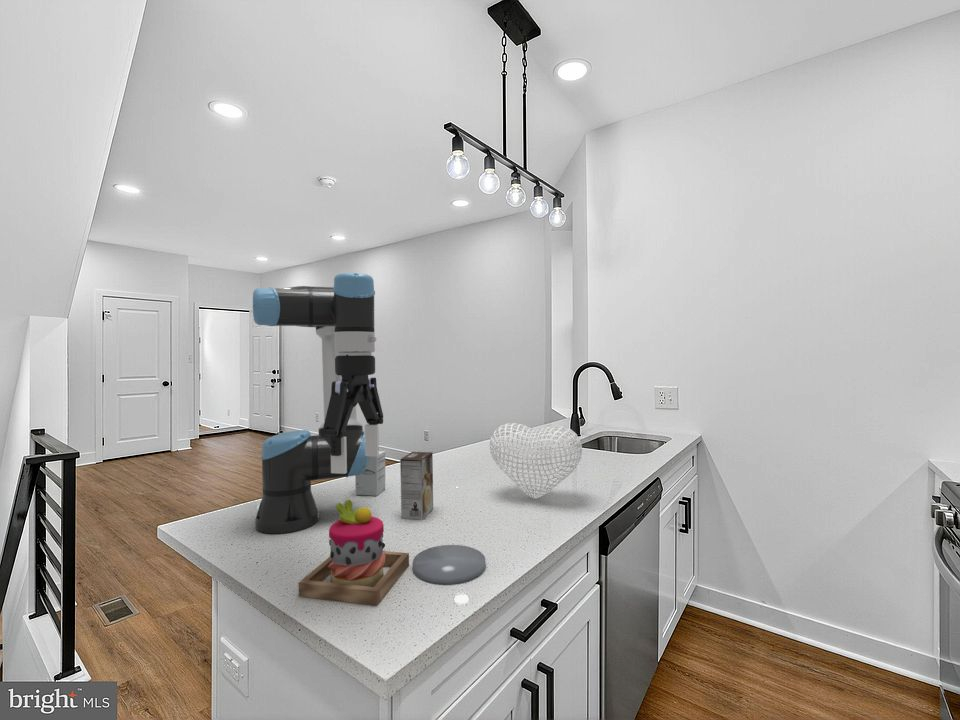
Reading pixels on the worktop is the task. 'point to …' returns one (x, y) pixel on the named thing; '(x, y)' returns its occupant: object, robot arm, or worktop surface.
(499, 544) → the worktop surface
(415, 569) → the plate
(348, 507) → the cake
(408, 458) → the coffee box
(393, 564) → the frame
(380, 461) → the supplement box
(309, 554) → the worktop surface
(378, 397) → the robot arm
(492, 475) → the worktop surface
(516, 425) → the heart
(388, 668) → the worktop surface
